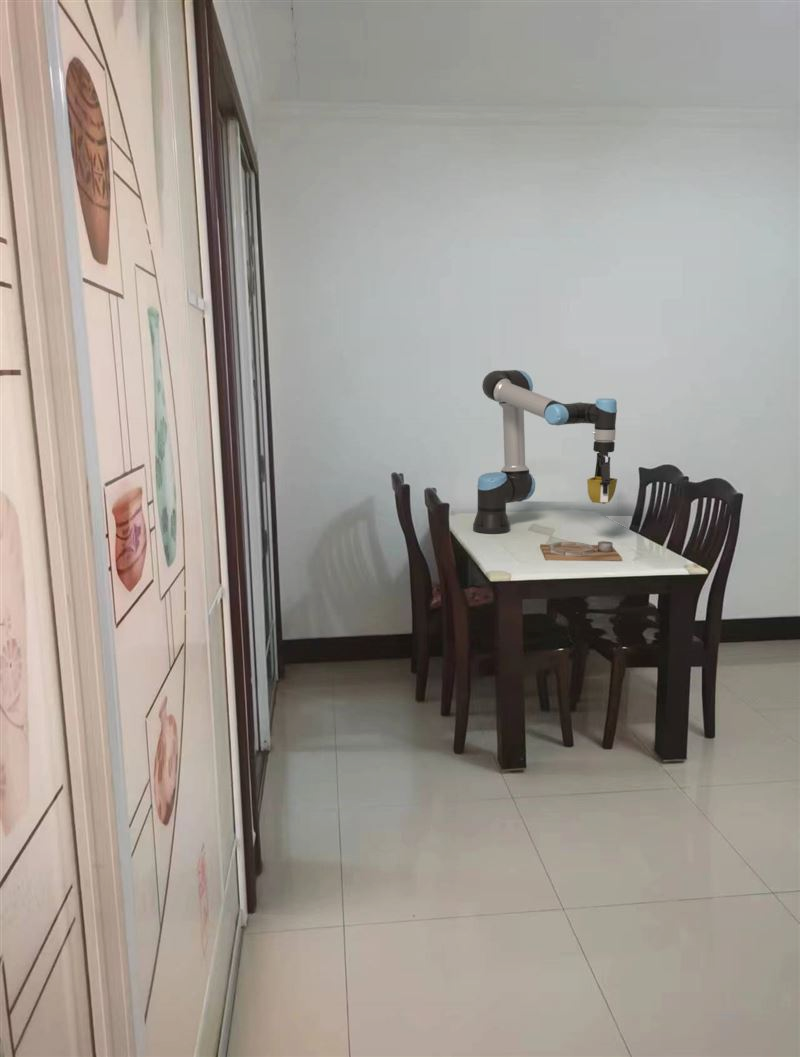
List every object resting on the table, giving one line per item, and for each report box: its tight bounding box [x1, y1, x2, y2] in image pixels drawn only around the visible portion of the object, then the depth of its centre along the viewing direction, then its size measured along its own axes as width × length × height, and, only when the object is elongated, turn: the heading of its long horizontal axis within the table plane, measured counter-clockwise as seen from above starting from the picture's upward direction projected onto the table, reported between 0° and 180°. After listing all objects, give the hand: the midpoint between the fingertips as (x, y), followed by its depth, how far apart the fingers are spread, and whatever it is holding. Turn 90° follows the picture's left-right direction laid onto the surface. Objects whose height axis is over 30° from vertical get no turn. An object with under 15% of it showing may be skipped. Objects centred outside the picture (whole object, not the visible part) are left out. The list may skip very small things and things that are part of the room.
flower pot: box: [586, 476, 618, 505], centre depth 297 cm, size 9×9×9 cm
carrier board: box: [539, 540, 623, 562], centre depth 285 cm, size 20×26×4 cm
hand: (601, 499), depth 298 cm, fingers closed on flower pot, 11 cm apart
